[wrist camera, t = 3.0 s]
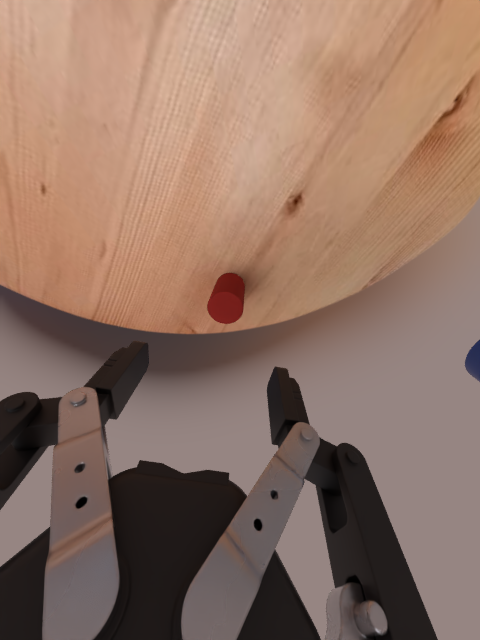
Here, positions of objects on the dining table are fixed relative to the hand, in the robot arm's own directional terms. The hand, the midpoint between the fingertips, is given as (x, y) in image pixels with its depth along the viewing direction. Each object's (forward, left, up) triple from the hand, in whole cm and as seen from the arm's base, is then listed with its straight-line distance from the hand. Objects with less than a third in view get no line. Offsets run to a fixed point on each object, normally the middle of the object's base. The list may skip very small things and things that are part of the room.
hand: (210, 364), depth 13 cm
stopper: (0, 0, -14) cm, 14 cm away
